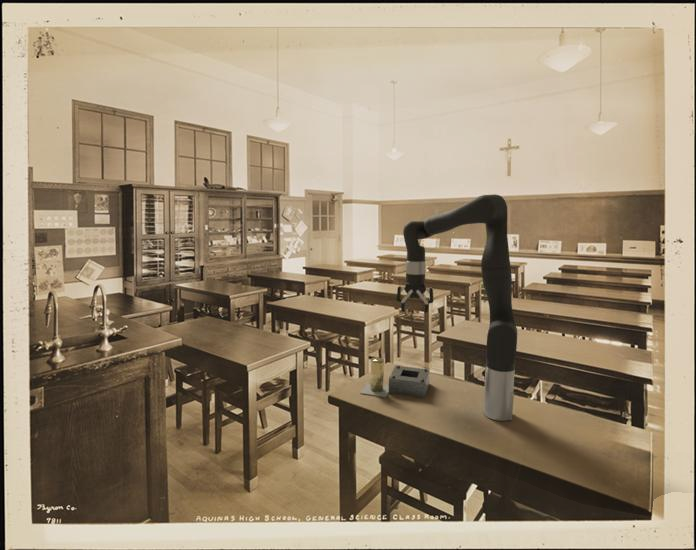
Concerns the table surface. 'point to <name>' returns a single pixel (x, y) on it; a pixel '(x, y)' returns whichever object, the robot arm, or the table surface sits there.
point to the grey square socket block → (409, 381)
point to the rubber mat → (368, 391)
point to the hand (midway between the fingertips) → (414, 312)
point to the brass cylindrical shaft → (377, 374)
